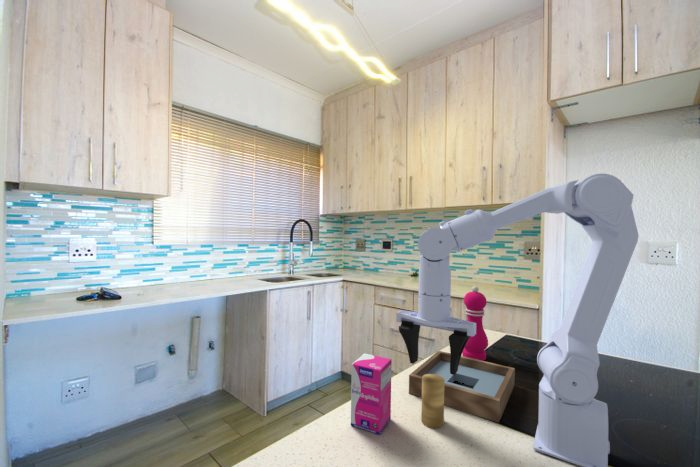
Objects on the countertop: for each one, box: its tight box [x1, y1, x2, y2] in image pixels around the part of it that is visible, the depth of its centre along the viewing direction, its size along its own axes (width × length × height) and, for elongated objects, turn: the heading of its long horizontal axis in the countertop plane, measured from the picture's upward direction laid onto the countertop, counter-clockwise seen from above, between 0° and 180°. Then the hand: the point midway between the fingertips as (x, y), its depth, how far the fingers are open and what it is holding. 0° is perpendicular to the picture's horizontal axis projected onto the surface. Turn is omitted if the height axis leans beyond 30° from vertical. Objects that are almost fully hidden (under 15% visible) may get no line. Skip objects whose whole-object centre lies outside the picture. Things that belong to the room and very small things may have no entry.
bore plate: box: [426, 361, 505, 397], centre depth 72 cm, size 16×16×2 cm
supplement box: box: [350, 353, 393, 435], centre depth 59 cm, size 6×6×12 cm
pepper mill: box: [461, 285, 489, 361], centre depth 91 cm, size 7×7×20 cm
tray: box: [408, 350, 516, 423], centre depth 72 cm, size 18×18×4 cm
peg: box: [420, 374, 445, 429], centre depth 60 cm, size 4×4×8 cm
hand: (433, 366), depth 60 cm, fingers open, 7 cm apart
